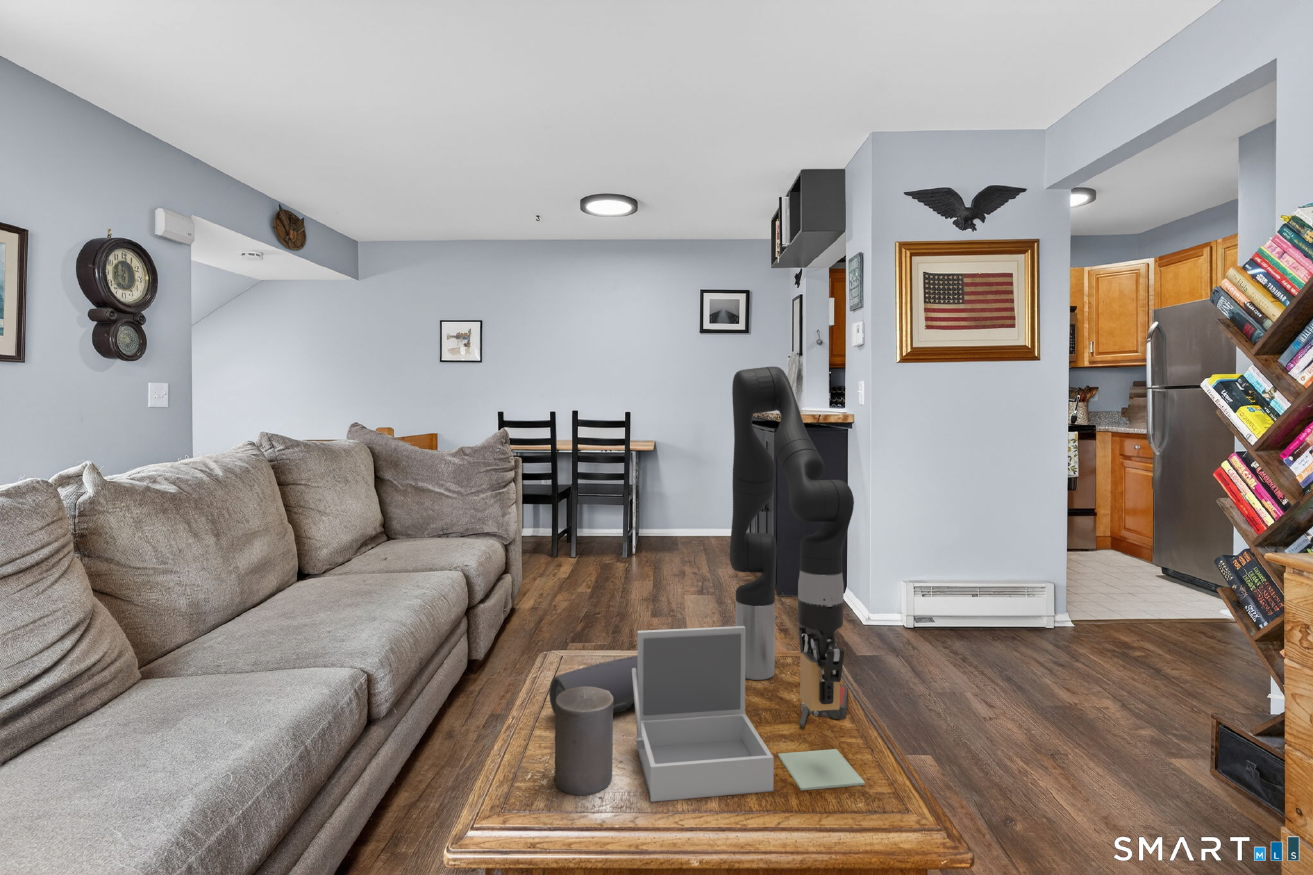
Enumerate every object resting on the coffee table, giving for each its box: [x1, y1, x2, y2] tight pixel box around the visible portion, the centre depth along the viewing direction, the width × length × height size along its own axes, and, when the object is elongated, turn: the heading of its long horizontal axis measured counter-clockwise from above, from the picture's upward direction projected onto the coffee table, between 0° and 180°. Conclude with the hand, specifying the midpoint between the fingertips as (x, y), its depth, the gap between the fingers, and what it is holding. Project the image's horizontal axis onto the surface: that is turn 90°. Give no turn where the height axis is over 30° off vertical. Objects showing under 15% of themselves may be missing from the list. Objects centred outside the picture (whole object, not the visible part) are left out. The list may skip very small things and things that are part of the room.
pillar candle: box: [554, 686, 614, 796], centre depth 108 cm, size 10×10×15 cm
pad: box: [777, 748, 866, 791], centre depth 111 cm, size 11×11×1 cm
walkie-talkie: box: [798, 683, 849, 728], centre depth 134 cm, size 9×4×20 cm
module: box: [799, 651, 841, 711], centre depth 111 cm, size 5×5×8 cm
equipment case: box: [632, 625, 775, 803], centre depth 111 cm, size 18×21×22 cm
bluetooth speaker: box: [548, 655, 637, 715], centre depth 133 cm, size 23×9×10 cm, turn 124°
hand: (819, 695), depth 111 cm, fingers closed on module, 5 cm apart
